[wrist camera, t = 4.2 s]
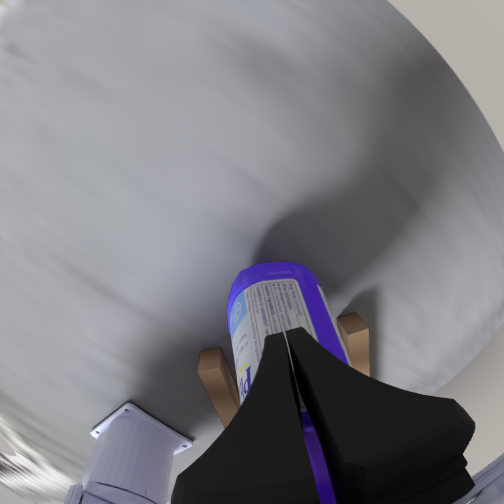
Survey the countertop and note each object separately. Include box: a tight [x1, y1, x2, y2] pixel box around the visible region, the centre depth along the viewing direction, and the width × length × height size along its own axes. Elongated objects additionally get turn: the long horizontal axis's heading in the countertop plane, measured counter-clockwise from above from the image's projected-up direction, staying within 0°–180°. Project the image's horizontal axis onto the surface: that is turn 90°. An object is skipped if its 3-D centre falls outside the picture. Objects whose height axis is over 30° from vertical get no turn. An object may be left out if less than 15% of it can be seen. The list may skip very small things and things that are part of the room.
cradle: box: [197, 312, 370, 428], centre depth 22 cm, size 19×12×2 cm, turn 14°
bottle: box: [227, 262, 353, 504], centre depth 12 cm, size 7×6×17 cm
